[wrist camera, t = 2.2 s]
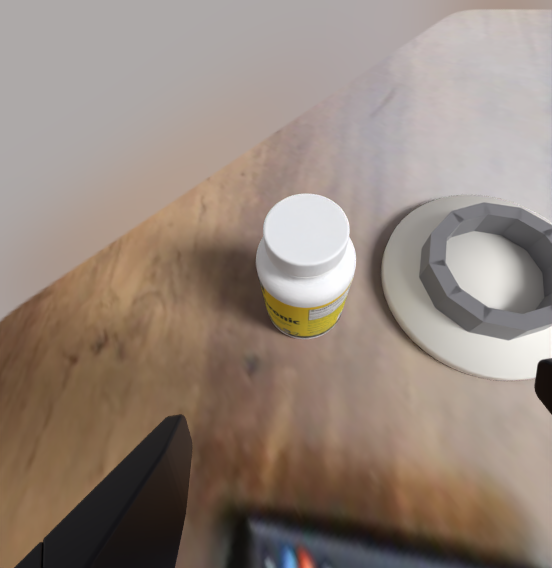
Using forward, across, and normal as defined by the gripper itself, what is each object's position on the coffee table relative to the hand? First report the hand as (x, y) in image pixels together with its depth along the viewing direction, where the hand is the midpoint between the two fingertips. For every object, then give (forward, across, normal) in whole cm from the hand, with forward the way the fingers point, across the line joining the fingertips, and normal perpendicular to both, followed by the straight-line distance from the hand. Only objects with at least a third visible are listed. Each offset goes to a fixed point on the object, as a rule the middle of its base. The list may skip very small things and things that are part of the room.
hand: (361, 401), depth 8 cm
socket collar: (+15, -13, +4) cm, 20 cm away
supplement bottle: (+16, 0, +4) cm, 16 cm away
